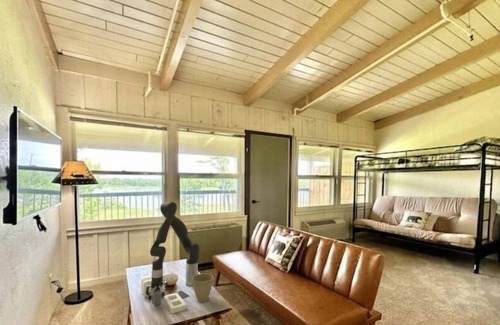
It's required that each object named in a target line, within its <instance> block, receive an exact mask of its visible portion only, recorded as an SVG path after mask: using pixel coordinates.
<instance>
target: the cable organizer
mask: <svg viewBox="0 0 500 325" xmlns="http://www.w3.org/2000/svg"><path fill="white" fill-rule="evenodd" d="M151 278H152V275H148V276H147V275H146V276H143V277H141V280H140V283H141V284H140V290H141V292H142V296H143V297H144V298H148V296H149V295H146V286H147V285H148V286H149V285H151ZM163 282H165V280H164V279H163ZM162 288H163V289H165V285H164V284H163V286H162ZM150 290H151V287H150V289H149V292H150ZM160 290H161V289H160ZM149 292H148V293H149ZM161 295H162V290H161ZM151 297H153V293H152V294H151Z"/></svg>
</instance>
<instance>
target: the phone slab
mask: <svg viewBox="0 0 500 325" xmlns="http://www.w3.org/2000/svg"><path fill="white" fill-rule="evenodd" d="M175 293H178V294H179V296H180V297H181V298H182V299H183V300H184V299H185V298H188V297H190V295H189V294H188V293H186V292H185V291H183V290H179V291H177V292H175Z"/></svg>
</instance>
